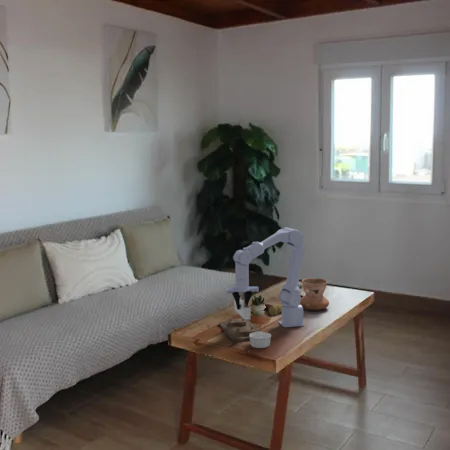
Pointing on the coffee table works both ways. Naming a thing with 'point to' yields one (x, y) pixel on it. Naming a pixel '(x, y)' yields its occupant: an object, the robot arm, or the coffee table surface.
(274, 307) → the gavel
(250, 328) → the board
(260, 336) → the ramekin
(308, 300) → the clay incense burner
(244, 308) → the steel bar
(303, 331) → the coffee table surface
